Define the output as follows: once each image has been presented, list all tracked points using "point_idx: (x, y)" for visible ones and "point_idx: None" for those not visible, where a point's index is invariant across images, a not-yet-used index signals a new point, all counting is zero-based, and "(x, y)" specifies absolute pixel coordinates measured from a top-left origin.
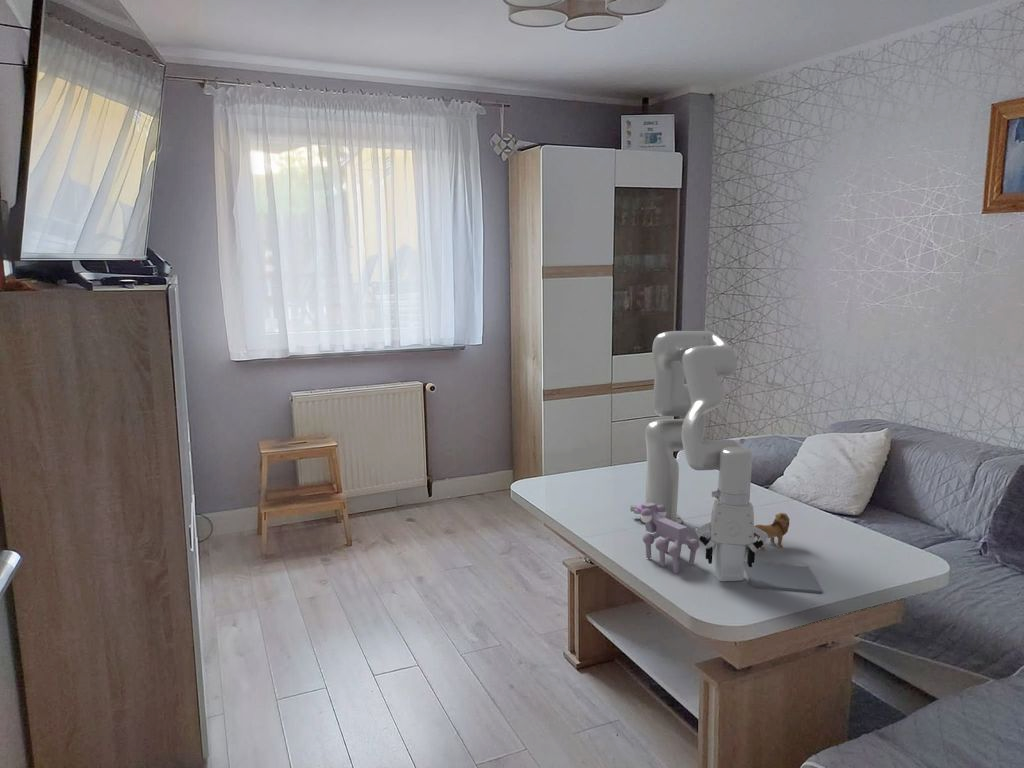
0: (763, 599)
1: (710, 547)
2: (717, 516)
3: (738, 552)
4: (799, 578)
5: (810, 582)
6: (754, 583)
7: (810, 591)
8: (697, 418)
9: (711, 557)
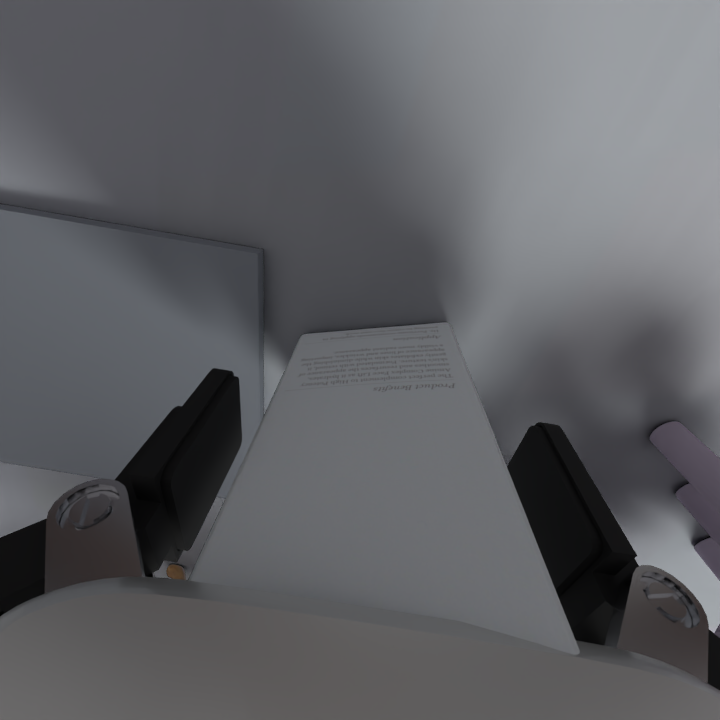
0: (192, 6)
1: (607, 579)
2: None
3: (301, 488)
4: None
5: None
6: (236, 274)
7: None
8: None
9: (561, 467)
